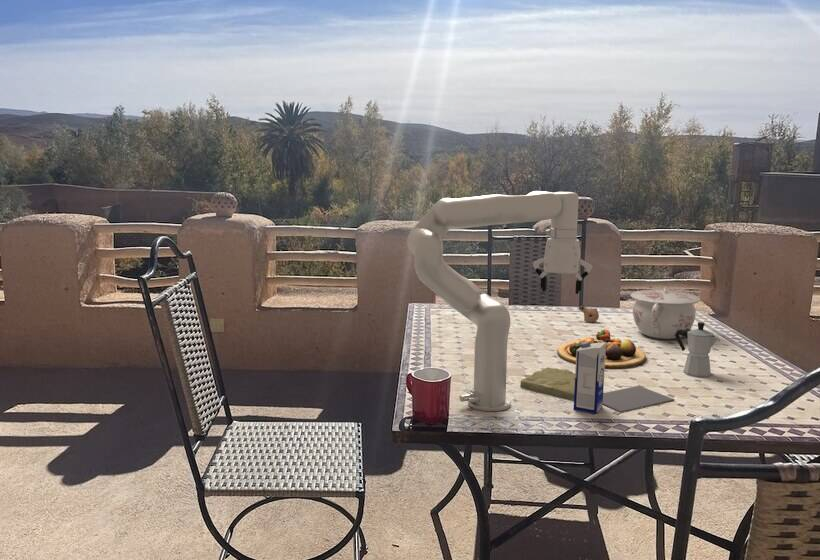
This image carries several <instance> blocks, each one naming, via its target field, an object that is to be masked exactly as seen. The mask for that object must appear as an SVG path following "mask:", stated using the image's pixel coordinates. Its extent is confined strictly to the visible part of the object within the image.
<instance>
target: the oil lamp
mask: <svg viewBox="0 0 820 560" xmlns="http://www.w3.org/2000/svg"><path fill="white" fill-rule="evenodd" d="M578 310H579V311H581V312H582V313H583V320H584V321H585V322H588V323H593V324H594V323H596V322H597V321H599V319H600V318H599V317H600V315H599V311H598V309H597V308H595V307H594V308H590V307H589V308H588V307H587V306H585V305H584V304H581V305H579V307H578Z"/></svg>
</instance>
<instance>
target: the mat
mask: <svg viewBox="0 0 820 560" xmlns="http://www.w3.org/2000/svg"><path fill="white" fill-rule="evenodd" d="M672 400H674V401H675V399H674V398H672V397H671V396H670V397H669V396H667V395H665V394H662V393H659V392H656V391H655V390H651V389H648V388H646V387H644V386H641V385H636V386H630V387H627V388H621V389H617V390H612V391H607V392H603V404H602V406H605V407H606V408H609V407H610V409H611V408H612V410H613V411H616V412H618V413H620V412H621V413H624V411H626V412H629V411H628V410H630V411H633V410H632V409H635V410H637V409H636V408H639V409H642V408H641V407H643V408H646V406H648V407H651V406H650V405H652V406H655V405H654V404H656V405H659V404H658V403H661V404H664V402H665V403H668V401H670V402H673V401H672Z"/></svg>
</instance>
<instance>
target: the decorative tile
mask: <svg viewBox="0 0 820 560" xmlns="http://www.w3.org/2000/svg"><path fill="white" fill-rule="evenodd" d="M520 388H524V389H527V390H532V391H535V392H540V393H544V394H549V395H551V396H555V397H560V398H563V399H567V400H568V399H569V400H571V401H572V400H573V401H574V389H575V372H573V371H571V370H569V369H559V368H555V367H545V368H543V369H541V370H537V371H534V372H533V373H532V374H529V375H528V376H525V378H522V379H521V380H520Z"/></svg>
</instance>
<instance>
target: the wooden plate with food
mask: <svg viewBox="0 0 820 560" xmlns="http://www.w3.org/2000/svg"><path fill="white" fill-rule="evenodd" d="M594 336H595V337H591V336H586V337H583V338H581V339H580V340H573V341H569V342H566V343H563V344H561V345H560V346H558V347H557V349H556V352H557V355H558V356H559V358H560V359H561V360H563V361H566V362H568V363H571V364H575V365H576V350H578V349H579V348H580V347H581V346H580V344H581V343H584V342H590V344H592V343H599V342H600V343H602V342H606V352H605V369H604V370H606V369H607V370H619V369H620V370H623V369H622V368H624V369H630V367H631V368H635V366H636V367H638V366H641V365H642V364H643V363H644V362H646V360H647V355H646V353H645V351H643V350H642V349H641V348H639V347H637V346H636V344H635V343H634V342H633V341H632V340H630V339H629V338H626V339H624V340H623V341H622V340H621V339H620V338H612V339H611V333H610V331H609V329H601V330H600V331H597V332H596V334H595V335H594ZM640 364H641V365H640Z"/></svg>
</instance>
